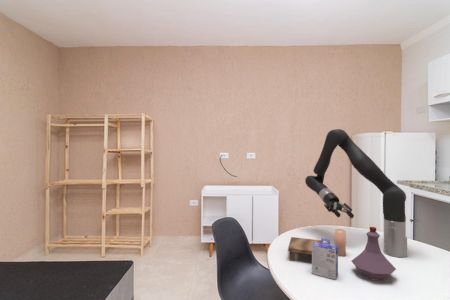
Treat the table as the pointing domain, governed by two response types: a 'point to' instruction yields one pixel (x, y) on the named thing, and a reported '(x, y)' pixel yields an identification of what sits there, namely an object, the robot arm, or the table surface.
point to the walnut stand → (300, 246)
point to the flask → (373, 259)
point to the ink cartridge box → (325, 259)
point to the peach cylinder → (340, 241)
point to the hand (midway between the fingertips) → (346, 216)
